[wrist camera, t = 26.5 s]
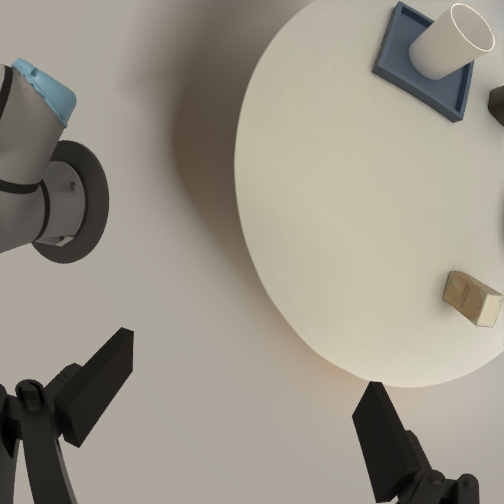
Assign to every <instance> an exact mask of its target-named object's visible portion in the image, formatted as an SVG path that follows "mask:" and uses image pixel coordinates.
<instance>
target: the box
mask: <svg viewBox="0 0 504 504" xmlns="http://www.w3.org/2000/svg"><path fill="white" fill-rule="evenodd" d="M443 299H444V300H445V301H446V302H448V303H449V304H450V305H451V306H453V307H454V308H455V309H456V310H458V311H459V312H460V313H461V314H463V315H464V316H465V317H466V318H467V319H469V320H470V321H471V322H472V323H473V324H475V325H476V326H480V327H491V328H492V327H494V324H495V322H496V319H497V317H498V314H499V312H500V308H501V305H502V302H503V299H504V296H503V295H502V294H500V293H498V292H497V291H495V290H493V289H492V288H490V287H489V286H487V285H485V284H483V283H482V282H480V281H478V280H477V279H475V278H473V277H472V276H470V275H468V274H465V273H461V272H456V271H451V272H450V275H449V278H448V281H447V285H446V288H445V291H444V294H443Z"/></svg>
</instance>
